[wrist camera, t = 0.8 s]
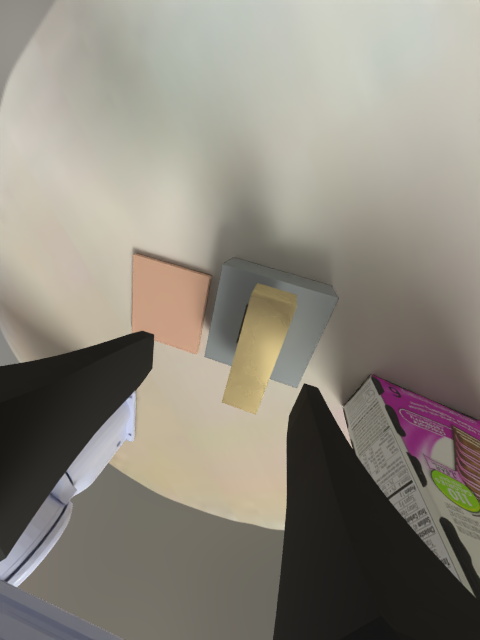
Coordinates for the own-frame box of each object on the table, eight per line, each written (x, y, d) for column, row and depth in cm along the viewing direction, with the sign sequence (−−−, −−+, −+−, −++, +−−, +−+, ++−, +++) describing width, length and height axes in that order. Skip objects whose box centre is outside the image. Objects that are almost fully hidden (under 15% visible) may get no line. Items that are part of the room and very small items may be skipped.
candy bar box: (496, 422, 19) (1178, 1115, 4) (451, 456, 21) (797, 983, 7) (369, 368, 19) (594, 821, 5) (338, 406, 22) (428, 792, 7)
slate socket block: (296, 366, 21) (297, 388, 18) (215, 339, 22) (204, 356, 19) (332, 285, 17) (338, 298, 15) (233, 257, 18) (222, 263, 15)
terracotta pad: (198, 351, 23) (195, 354, 22) (134, 330, 23) (131, 332, 23) (211, 275, 19) (209, 277, 19) (137, 253, 20) (133, 254, 19)
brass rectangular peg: (267, 356, 21) (256, 414, 15) (243, 348, 21) (221, 402, 15) (296, 275, 18) (296, 306, 11) (267, 266, 18) (251, 293, 12)
